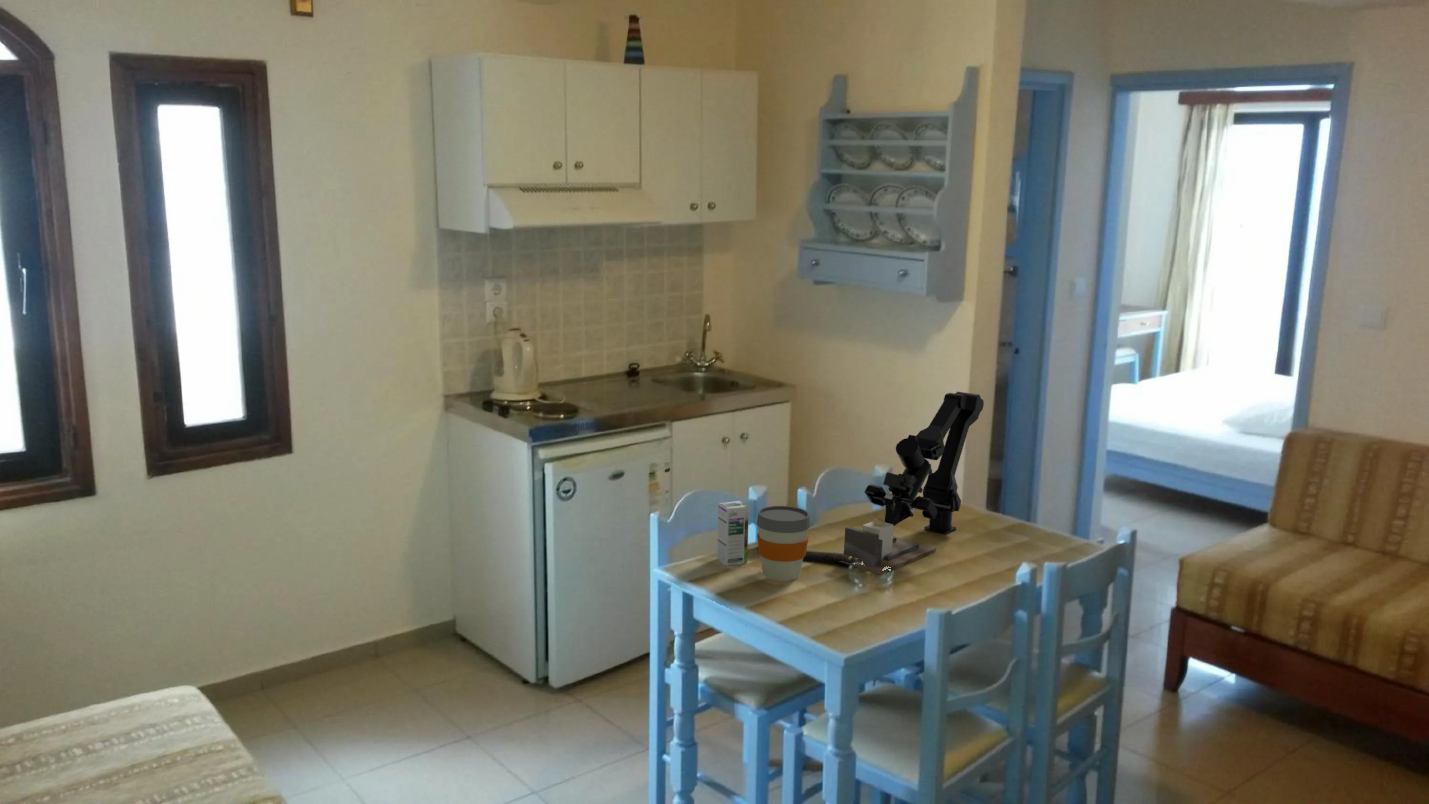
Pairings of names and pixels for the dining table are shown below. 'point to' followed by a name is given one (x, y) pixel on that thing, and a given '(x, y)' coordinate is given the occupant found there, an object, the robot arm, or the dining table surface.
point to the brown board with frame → (871, 551)
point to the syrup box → (732, 532)
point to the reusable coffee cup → (782, 541)
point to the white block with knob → (882, 534)
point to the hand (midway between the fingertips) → (885, 529)
